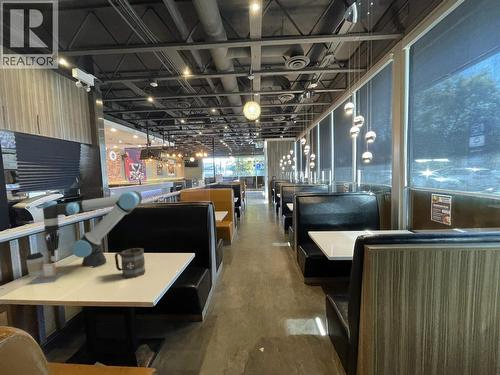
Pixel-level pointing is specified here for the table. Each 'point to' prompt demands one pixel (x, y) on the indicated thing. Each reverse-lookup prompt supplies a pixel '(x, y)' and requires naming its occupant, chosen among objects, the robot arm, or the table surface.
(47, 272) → the tile
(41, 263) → the coffee cup
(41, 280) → the board
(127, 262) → the mug
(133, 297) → the table surface
